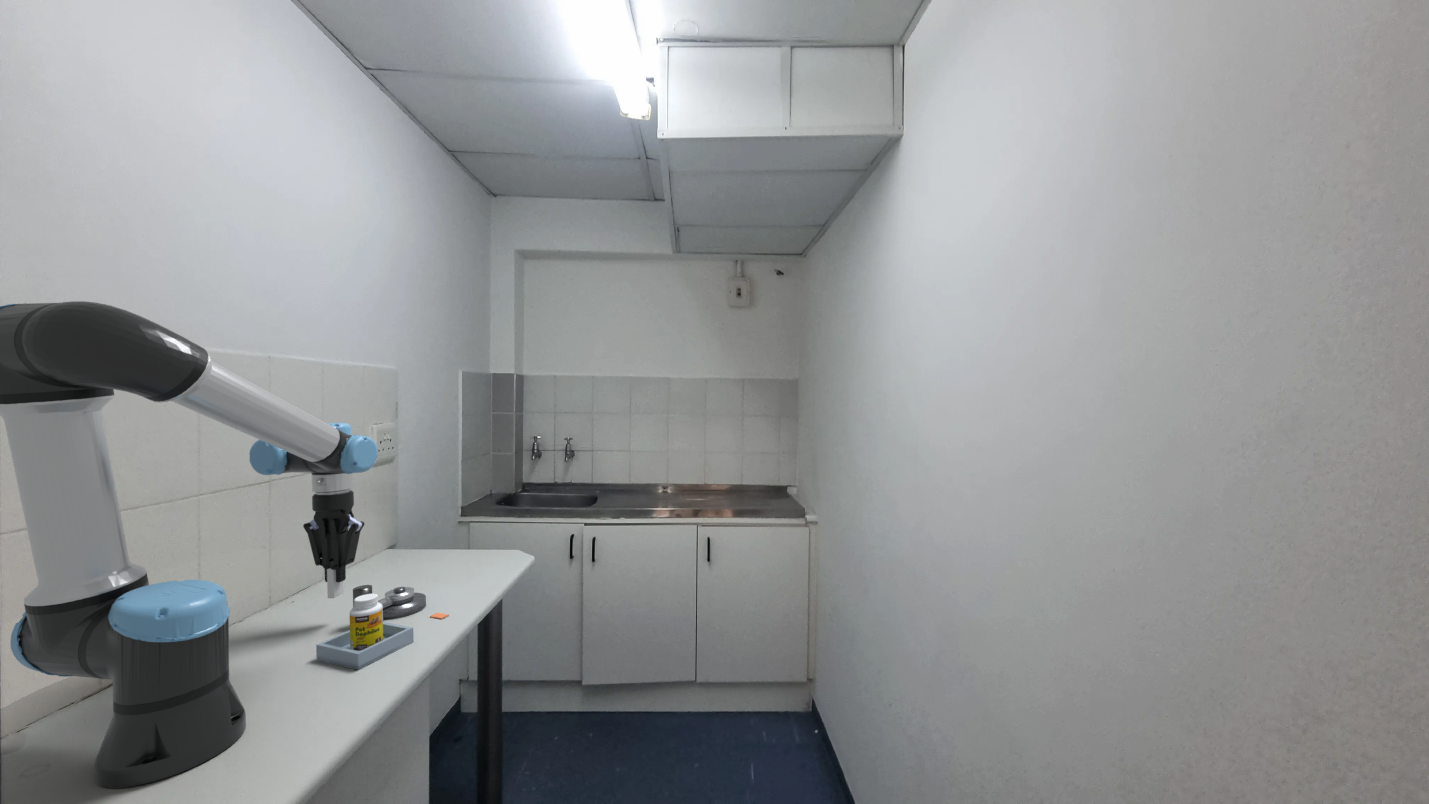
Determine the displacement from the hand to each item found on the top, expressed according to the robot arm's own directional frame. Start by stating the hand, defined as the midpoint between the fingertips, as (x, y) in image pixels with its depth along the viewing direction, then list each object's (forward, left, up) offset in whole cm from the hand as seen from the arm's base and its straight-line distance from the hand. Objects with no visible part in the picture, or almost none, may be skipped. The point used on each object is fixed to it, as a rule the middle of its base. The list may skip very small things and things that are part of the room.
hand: (335, 595), depth 116 cm
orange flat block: (+11, -19, -7) cm, 23 cm away
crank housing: (+11, -6, -7) cm, 14 cm away
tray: (-6, -18, -7) cm, 20 cm away
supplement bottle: (-6, -18, -6) cm, 20 cm away
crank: (+7, -6, -4) cm, 10 cm away
